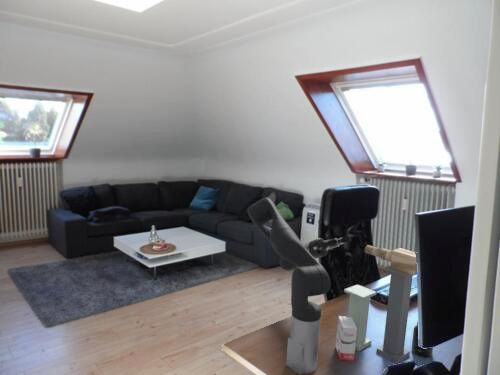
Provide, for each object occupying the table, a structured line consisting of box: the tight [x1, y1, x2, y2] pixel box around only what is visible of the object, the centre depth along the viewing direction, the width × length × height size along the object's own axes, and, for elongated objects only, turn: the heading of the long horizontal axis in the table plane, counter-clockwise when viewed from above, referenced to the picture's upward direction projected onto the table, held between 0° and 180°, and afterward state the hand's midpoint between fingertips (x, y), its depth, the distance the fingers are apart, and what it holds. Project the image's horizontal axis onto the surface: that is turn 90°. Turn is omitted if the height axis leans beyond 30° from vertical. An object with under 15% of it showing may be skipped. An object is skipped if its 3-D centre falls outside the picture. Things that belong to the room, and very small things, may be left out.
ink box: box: [335, 315, 357, 362], centre depth 134 cm, size 8×5×12 cm, turn 178°
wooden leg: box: [364, 244, 417, 276], centre depth 134 cm, size 5×19×6 cm, turn 40°
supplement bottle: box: [411, 321, 434, 358], centre depth 137 cm, size 7×7×12 cm
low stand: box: [343, 284, 377, 352], centre depth 141 cm, size 8×8×20 cm
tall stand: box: [376, 265, 417, 364], centre depth 134 cm, size 8×8×31 cm
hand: (343, 239), depth 152 cm, fingers open, 8 cm apart
